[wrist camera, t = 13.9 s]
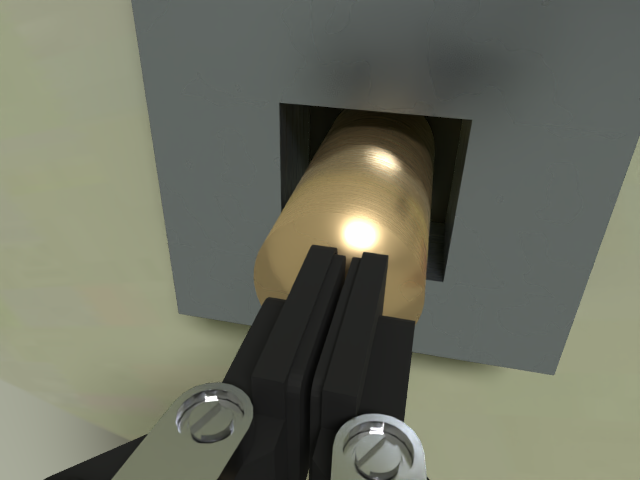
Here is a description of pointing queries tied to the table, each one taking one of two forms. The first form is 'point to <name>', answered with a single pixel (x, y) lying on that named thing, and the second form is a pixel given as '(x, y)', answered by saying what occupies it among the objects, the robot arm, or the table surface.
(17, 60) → the table surface
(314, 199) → the tan cylinder
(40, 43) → the table surface
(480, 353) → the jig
